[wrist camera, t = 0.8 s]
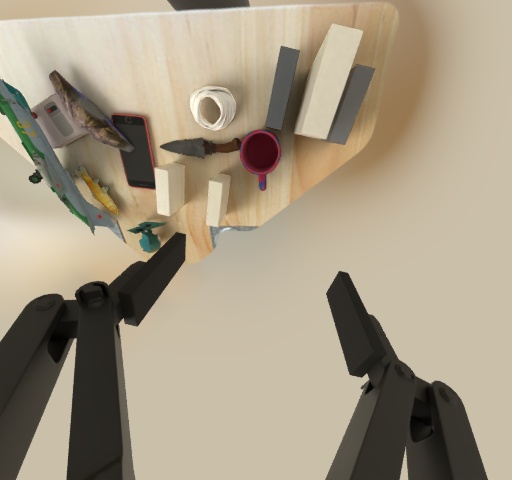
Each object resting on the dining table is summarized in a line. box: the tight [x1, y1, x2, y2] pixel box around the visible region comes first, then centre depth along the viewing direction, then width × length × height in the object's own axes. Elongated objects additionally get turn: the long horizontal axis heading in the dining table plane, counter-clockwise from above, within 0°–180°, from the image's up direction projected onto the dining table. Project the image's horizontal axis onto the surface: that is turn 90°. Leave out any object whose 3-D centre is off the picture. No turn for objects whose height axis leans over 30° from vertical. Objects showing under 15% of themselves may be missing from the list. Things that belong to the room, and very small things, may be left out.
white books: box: [154, 162, 231, 227], centre depth 39 cm, size 12×9×7 cm
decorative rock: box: [49, 70, 134, 152], centre depth 35 cm, size 16×2×5 cm
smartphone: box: [111, 113, 156, 190], centre depth 39 cm, size 7×1×14 cm
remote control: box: [30, 93, 89, 148], centre depth 37 cm, size 7×16×3 cm, turn 109°
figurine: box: [128, 222, 166, 253], centre depth 47 cm, size 12×9×8 cm
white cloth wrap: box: [190, 86, 236, 130], centre depth 32 cm, size 8×7×5 cm
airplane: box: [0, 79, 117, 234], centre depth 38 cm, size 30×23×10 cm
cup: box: [240, 130, 281, 191], centre depth 34 cm, size 7×10×7 cm
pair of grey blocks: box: [265, 46, 375, 145], centre depth 29 cm, size 12×9×7 cm
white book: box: [293, 23, 364, 139], centre depth 26 cm, size 3×9×15 cm, turn 169°
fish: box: [74, 165, 119, 215], centre depth 43 cm, size 12×2×5 cm
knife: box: [160, 138, 241, 158], centre depth 37 cm, size 17×2×5 cm
